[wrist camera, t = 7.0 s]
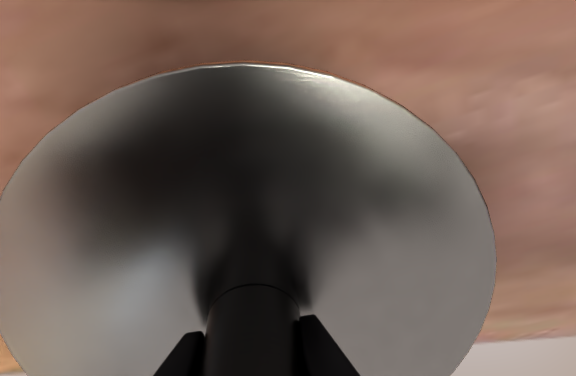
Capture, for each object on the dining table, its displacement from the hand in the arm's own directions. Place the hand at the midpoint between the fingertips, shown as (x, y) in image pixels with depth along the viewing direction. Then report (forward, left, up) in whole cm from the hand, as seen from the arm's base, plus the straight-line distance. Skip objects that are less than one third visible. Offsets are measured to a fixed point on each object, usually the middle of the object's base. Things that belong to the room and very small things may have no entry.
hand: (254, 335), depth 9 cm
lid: (0, 0, -1) cm, 1 cm away
